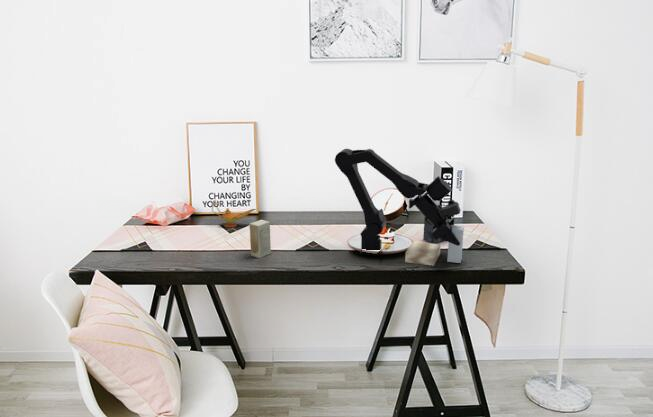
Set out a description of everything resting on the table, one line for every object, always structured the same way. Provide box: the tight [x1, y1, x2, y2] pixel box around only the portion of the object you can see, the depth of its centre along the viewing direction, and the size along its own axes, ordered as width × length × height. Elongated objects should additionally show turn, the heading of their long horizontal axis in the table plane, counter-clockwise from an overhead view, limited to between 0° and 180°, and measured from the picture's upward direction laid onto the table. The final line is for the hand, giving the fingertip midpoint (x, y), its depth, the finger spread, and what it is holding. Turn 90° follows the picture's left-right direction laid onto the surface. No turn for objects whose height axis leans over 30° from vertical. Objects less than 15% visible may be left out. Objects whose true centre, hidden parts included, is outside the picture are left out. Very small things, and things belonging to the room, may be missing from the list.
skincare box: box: [249, 219, 272, 259], centre depth 220 cm, size 6×4×12 cm
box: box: [422, 219, 445, 244], centre depth 235 cm, size 8×6×11 cm
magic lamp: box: [211, 199, 257, 228], centre depth 252 cm, size 7×18×11 cm, turn 94°
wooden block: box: [404, 240, 442, 267], centre depth 219 cm, size 10×12×4 cm
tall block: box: [446, 224, 465, 264], centre depth 214 cm, size 4×4×12 cm
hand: (459, 242), depth 214 cm, fingers closed on tall block, 4 cm apart
